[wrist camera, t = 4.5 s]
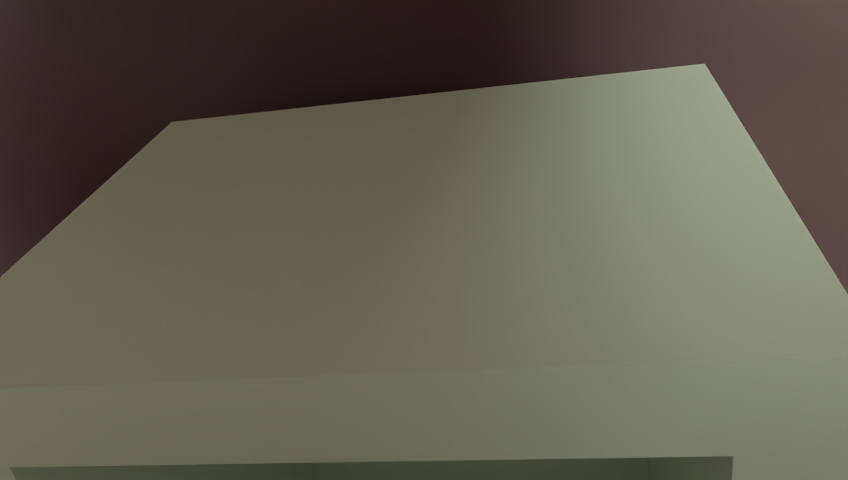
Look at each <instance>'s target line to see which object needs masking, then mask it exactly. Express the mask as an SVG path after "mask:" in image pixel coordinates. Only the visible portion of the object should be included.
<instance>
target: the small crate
mask: <svg viewBox="0 0 848 480" xmlns="http://www.w3.org/2000/svg"><path fill="white" fill-rule="evenodd" d="M0 480H848V294H847V293H846V291H845V289H844V288H843V286H842V284H841V283H840V281H839V280H838V278H837V276H836V275H835V273H834V272H833V270H832V268H831V267H830V265H829V263H828V262H827V260H826V259H825V257H824V255H823V254H822V252H821V251H820V249H819V247H818V246H817V244H816V243H815V241H814V239H813V238H812V236H811V234H810V233H809V231H808V230H807V228H806V226H805V225H804V223H803V222H802V220H801V218H800V217H799V215H798V213H797V212H796V210H795V209H794V207H793V205H792V204H791V202H790V201H789V199H788V197H787V196H786V194H785V192H784V191H783V189H782V188H781V186H780V184H779V183H778V181H777V180H776V178H775V176H774V175H773V173H772V171H771V170H770V168H769V167H768V165H767V163H766V162H765V160H764V159H763V157H762V155H761V154H760V152H759V151H758V149H757V147H756V146H755V144H754V142H753V141H752V139H751V138H750V136H749V134H748V133H747V131H746V130H745V128H744V126H743V125H742V123H741V121H740V120H739V118H738V117H737V115H736V113H735V112H734V110H733V109H732V107H731V105H730V104H729V102H728V100H727V99H726V97H725V96H724V94H723V92H722V91H721V89H720V88H719V86H718V84H717V83H716V81H715V80H714V78H713V76H712V75H711V73H710V71H709V70H708V68H707V67H706V65H705V64H697V65H688V66H679V67H670V68H660V69H651V70H642V71H633V72H624V73H615V74H606V75H596V76H587V77H578V78H569V79H560V80H551V81H542V82H532V83H523V84H514V85H505V86H496V87H487V88H478V89H468V90H459V91H450V92H441V93H432V94H423V95H414V96H404V97H395V98H386V99H377V100H368V101H359V102H350V103H340V104H331V105H322V106H313V107H304V108H295V109H286V110H277V111H267V112H258V113H249V114H240V115H231V116H222V117H213V118H203V119H194V120H185V121H176V122H171V123H170V124H169V125H168V126H167V127H166V128H165V129H164V130H162V131H161V132H160V133H159V134H158V135H157V136H156V137H155V138H154V139H153V140H151V141H150V142H149V143H148V144H147V145H146V146H145V147H144V148H143V149H141V150H140V151H139V152H138V153H137V154H136V155H135V156H134V157H133V158H132V159H130V160H129V161H128V162H127V163H126V164H125V165H124V166H123V167H122V168H120V169H119V170H118V171H117V172H116V173H115V174H114V175H113V176H112V177H110V178H109V179H108V180H107V181H106V182H105V183H104V184H103V185H102V186H101V187H99V188H98V189H97V190H96V191H95V192H94V193H93V194H92V195H91V196H89V197H88V198H87V199H86V200H85V201H84V202H83V203H82V204H81V205H80V206H78V207H77V208H76V209H75V210H74V211H73V212H72V213H71V214H70V215H68V216H67V217H66V218H65V219H64V220H63V221H62V222H61V223H60V224H58V225H57V226H56V227H55V228H54V229H53V230H52V231H51V232H50V233H49V234H47V235H46V236H45V237H44V238H43V239H42V240H41V241H40V242H39V243H37V244H36V245H35V246H34V247H33V248H32V249H31V250H30V251H29V252H27V253H26V254H25V255H24V256H23V257H22V258H21V259H20V260H19V261H18V262H16V263H15V264H14V265H13V266H12V267H11V268H10V269H9V270H8V271H6V272H5V273H4V274H3V275H2V276H1V277H0Z"/></svg>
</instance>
